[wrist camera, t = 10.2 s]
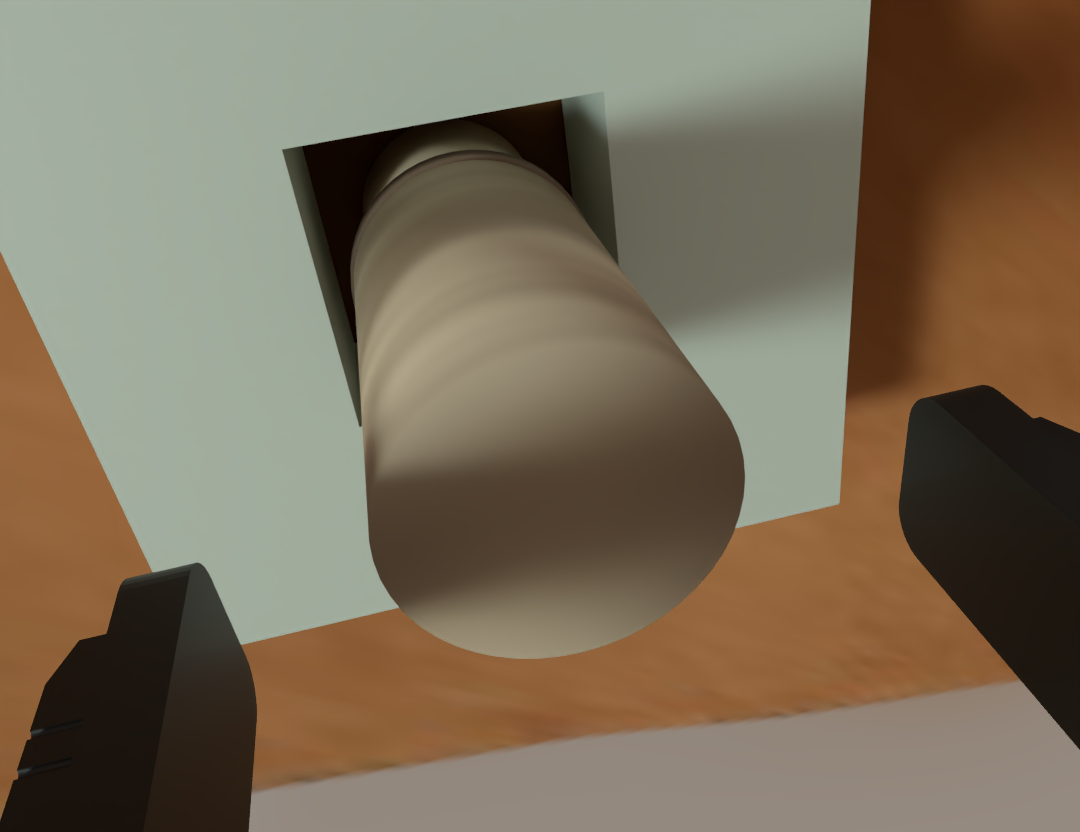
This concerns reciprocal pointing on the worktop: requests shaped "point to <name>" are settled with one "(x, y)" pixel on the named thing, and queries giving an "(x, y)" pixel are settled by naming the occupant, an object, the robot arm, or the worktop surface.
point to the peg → (523, 411)
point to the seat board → (307, 267)
